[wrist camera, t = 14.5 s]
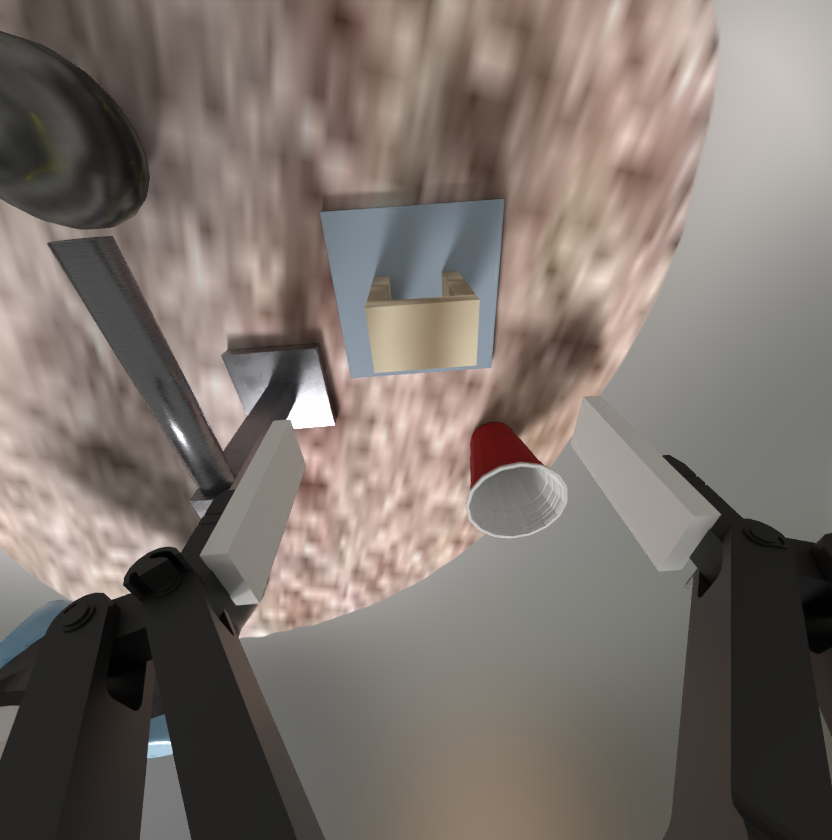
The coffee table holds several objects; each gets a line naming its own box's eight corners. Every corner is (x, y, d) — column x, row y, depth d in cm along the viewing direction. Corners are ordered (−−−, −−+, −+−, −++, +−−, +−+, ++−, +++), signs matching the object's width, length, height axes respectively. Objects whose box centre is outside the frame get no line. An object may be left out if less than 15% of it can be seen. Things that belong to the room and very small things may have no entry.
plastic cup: (519, 390, 41) (558, 453, 31) (539, 450, 46) (578, 519, 36) (438, 423, 43) (451, 492, 33) (467, 476, 49) (485, 549, 39)
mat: (352, 374, 38) (351, 378, 37) (321, 211, 29) (319, 212, 28) (489, 363, 38) (491, 367, 37) (501, 198, 29) (504, 198, 28)
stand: (257, 424, 42) (176, 557, 26) (175, 222, 29) (-71, 252, 14) (336, 418, 42) (301, 547, 26) (288, 214, 29) (167, 235, 14)
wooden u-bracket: (380, 327, 34) (374, 373, 26) (373, 276, 31) (364, 307, 23) (456, 322, 34) (476, 365, 26) (457, 270, 31) (479, 299, 23)
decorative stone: (196, 145, 26) (104, 122, 18) (153, 250, 30) (62, 271, 22) (45, 17, 22) (-163, -87, 14) (19, 158, 26) (-154, 142, 18)
